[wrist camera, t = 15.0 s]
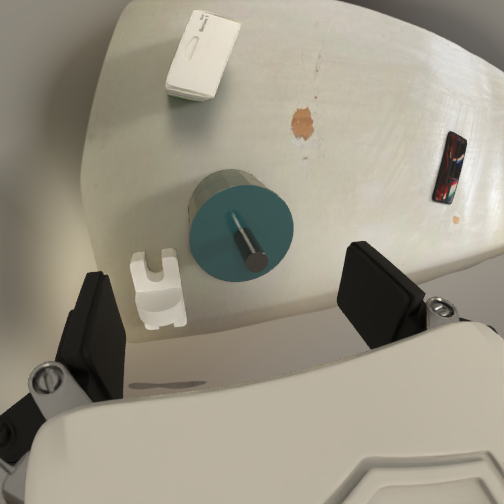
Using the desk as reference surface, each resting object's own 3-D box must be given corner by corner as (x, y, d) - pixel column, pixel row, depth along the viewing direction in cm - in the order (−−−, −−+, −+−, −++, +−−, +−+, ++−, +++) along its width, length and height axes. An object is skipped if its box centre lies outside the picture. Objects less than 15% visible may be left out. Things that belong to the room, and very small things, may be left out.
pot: (179, 236, 42) (181, 264, 35) (203, 159, 38) (210, 172, 31) (252, 252, 46) (267, 280, 39) (280, 182, 42) (302, 200, 35)
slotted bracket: (130, 253, 41) (124, 282, 34) (176, 247, 42) (178, 276, 36) (146, 320, 47) (146, 353, 41) (186, 315, 49) (190, 348, 42)
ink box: (202, 103, 34) (215, 102, 24) (165, 94, 32) (162, 89, 22) (223, 44, 31) (245, 21, 21) (186, 34, 29) (193, 6, 19)
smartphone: (468, 140, 46) (451, 205, 53) (465, 139, 47) (449, 204, 53) (450, 130, 44) (433, 200, 50) (448, 129, 44) (431, 199, 51)
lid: (177, 269, 35) (180, 302, 30) (208, 169, 31) (217, 186, 25) (269, 287, 40) (285, 317, 35) (307, 201, 35) (333, 222, 30)
